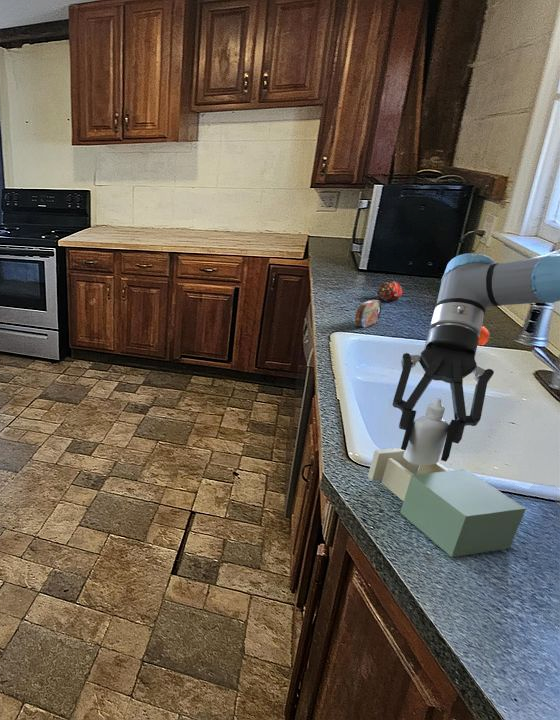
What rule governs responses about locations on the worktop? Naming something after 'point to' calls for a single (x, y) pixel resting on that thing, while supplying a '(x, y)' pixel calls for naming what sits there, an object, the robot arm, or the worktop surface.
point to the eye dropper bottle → (427, 436)
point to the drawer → (397, 470)
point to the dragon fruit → (390, 291)
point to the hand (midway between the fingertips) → (424, 452)
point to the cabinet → (461, 512)
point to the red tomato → (483, 336)
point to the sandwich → (368, 313)
